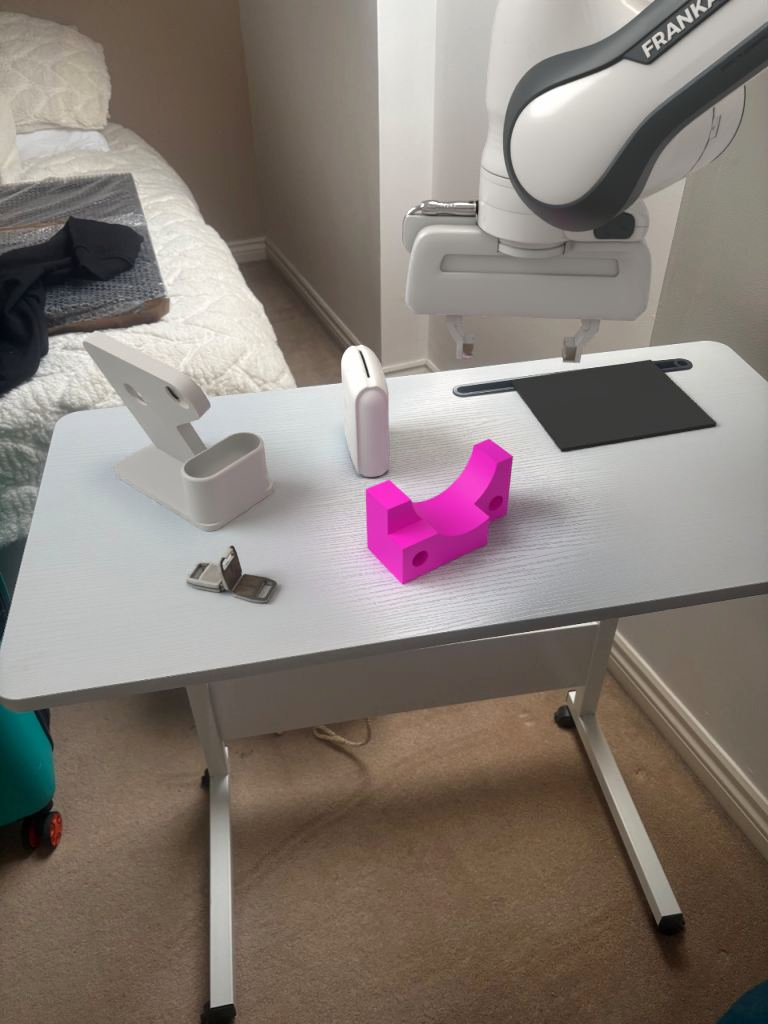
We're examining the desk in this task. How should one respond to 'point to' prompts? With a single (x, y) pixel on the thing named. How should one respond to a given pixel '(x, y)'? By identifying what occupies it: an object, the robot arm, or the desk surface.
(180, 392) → the phone holder
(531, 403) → the mat
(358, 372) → the photo printer
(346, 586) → the desk surface
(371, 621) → the desk surface
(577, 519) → the desk surface
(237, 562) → the strap clip
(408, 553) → the toy block
